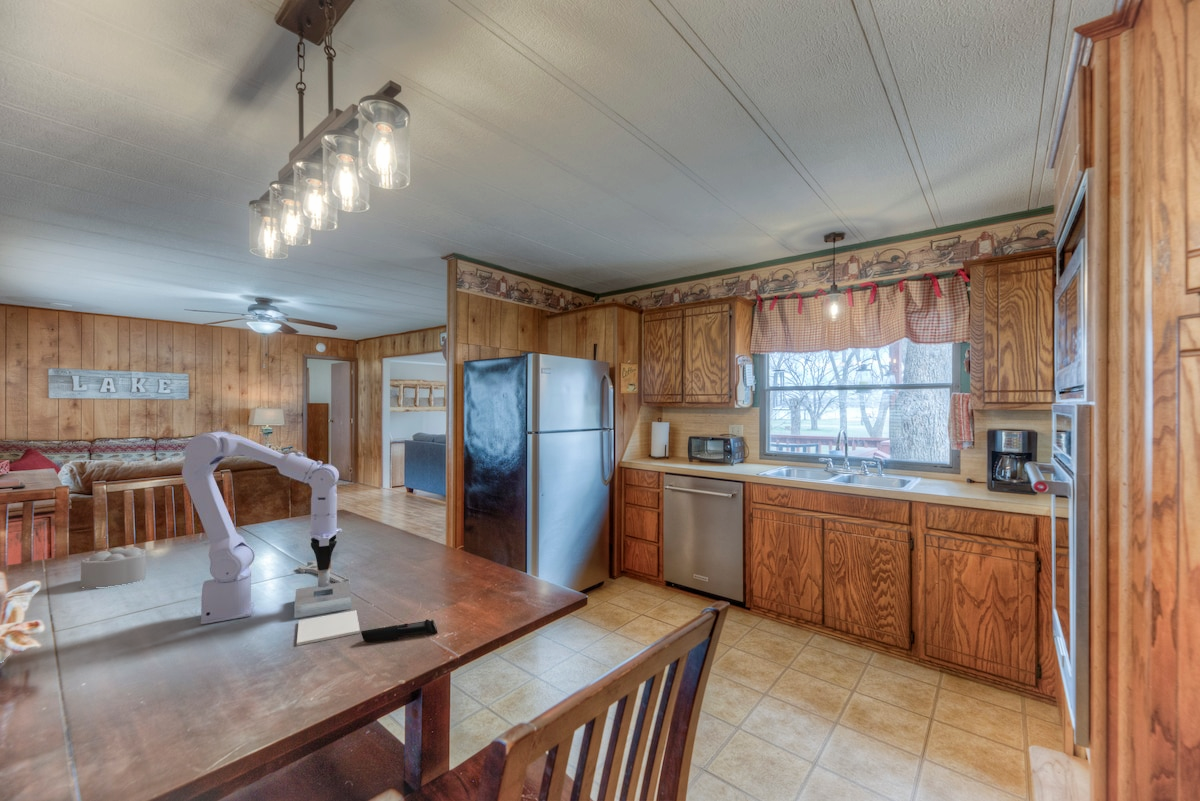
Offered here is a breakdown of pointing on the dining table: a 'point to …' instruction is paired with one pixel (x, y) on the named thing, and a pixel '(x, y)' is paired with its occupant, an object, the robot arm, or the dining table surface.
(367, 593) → the dining table surface
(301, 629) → the mat
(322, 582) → the key
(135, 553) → the egg container
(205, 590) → the robot arm
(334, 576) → the adjustable wrench
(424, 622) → the electric trimmer
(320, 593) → the socket block
